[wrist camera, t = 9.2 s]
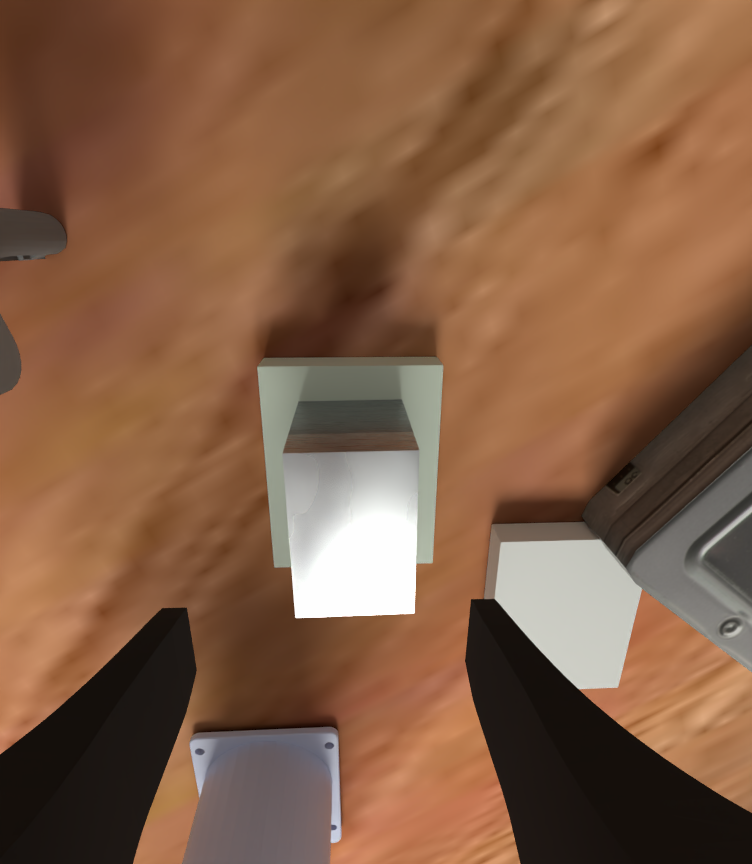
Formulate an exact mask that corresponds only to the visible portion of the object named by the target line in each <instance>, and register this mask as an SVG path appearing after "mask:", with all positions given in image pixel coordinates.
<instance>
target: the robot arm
mask: <svg viewBox="0 0 752 864" xmlns="http://www.w3.org/2000/svg"><path fill="white" fill-rule="evenodd" d="M465 662H466V667H467V672H468V677H469V683H470V687H471V692H472V697H473V701H474V705H475V708H476V711H477V714H478V717H479V720H480V724H481V727H482V730H483V733H484V736H485V739H486V742H487V745H488V748H489V751H490V755H491V758H492V761H493V764H494V767H495V770H496V773H497V776H498V779H499V782H500V785H501V789H502V792H503V795H504V798H505V802H506V805H507V809H508V812H509V816H510V820H511V824H512V829H513V833H514V837H515V842H516V846H517V850H518V854H519V859H520V863H521V864H752V813H750V812H749V811H747V810H745V809H744V808H742V807H740V806H738V805H737V804H735V803H733V802H731V801H730V800H728V799H726V798H724V797H723V796H721V795H719V794H718V793H716V792H715V791H713V790H712V789H710V788H708V787H707V786H705V785H704V784H702V783H701V782H699V781H698V780H696V779H694V778H693V777H691V776H690V775H688V774H687V773H685V772H684V771H682V770H681V769H679V768H678V767H676V766H675V765H673V764H672V763H670V762H669V761H667V760H666V759H665V758H663V757H662V756H660V755H659V754H658V753H656V752H655V751H654V750H652V749H651V748H649V747H648V746H647V745H645V744H644V743H643V742H641V741H640V740H639V739H637V738H636V737H635V736H633V735H632V734H631V733H629V732H628V731H627V730H626V729H624V728H623V727H622V726H620V725H619V724H618V723H617V722H616V721H614V720H613V719H612V718H611V717H610V716H608V715H607V714H606V713H605V712H604V711H602V710H601V709H600V708H599V707H598V706H596V705H595V704H594V703H593V702H592V701H591V700H590V699H588V698H587V697H586V696H585V695H584V694H583V693H582V692H581V691H580V690H579V689H578V688H577V687H576V686H575V685H574V684H573V683H571V682H570V681H569V680H568V679H567V678H566V677H565V676H564V675H563V674H562V673H561V672H560V671H559V670H558V669H557V668H556V667H555V666H554V665H553V664H552V662H551V661H550V660H549V659H548V658H547V657H546V656H545V655H544V654H543V653H542V652H541V651H540V650H539V649H538V648H537V647H536V645H535V644H534V643H533V642H532V641H531V640H530V639H529V638H528V637H527V635H526V634H525V633H524V632H523V631H522V630H521V629H520V627H519V626H518V625H517V624H516V623H515V622H514V621H513V619H512V618H511V617H510V616H509V615H508V613H507V612H506V611H505V610H504V609H503V608H502V606H501V605H500V604H499V603H498V602H497V601H496V600H495V599H471V607H470V617H469V627H468V637H467V648H466V658H465ZM196 671H197V669H196V663H195V656H194V650H193V644H192V637H191V631H190V625H189V618H188V612H187V608H162V609H161V610H160V611H159V612H158V613H157V614H156V615H155V616H154V617H153V618H152V619H151V620H150V621H149V622H148V623H147V624H146V625H145V626H144V627H143V628H142V629H141V630H140V631H139V632H138V633H137V634H136V635H135V636H134V637H133V638H132V639H131V640H130V641H129V642H128V643H127V644H126V645H125V646H124V647H123V648H122V649H121V650H120V651H119V652H118V653H117V654H116V655H115V656H114V657H113V658H112V659H111V660H110V661H109V662H108V663H107V664H106V665H105V666H104V667H103V668H102V669H101V670H100V671H98V672H97V673H96V674H95V675H94V676H93V677H92V678H91V679H90V680H89V681H88V682H87V683H86V684H85V685H84V686H82V687H81V688H80V689H79V690H78V691H77V692H76V693H75V694H74V695H72V696H71V697H70V698H69V699H68V700H67V701H66V702H65V703H64V704H63V705H61V706H60V707H59V708H58V709H57V710H56V711H55V712H53V713H52V714H51V715H50V716H49V717H47V718H46V719H45V720H44V721H43V722H41V723H40V724H39V725H38V726H36V727H35V728H34V729H33V730H31V731H30V732H29V733H28V734H26V735H25V736H24V737H22V738H21V739H20V740H19V741H17V742H16V743H15V744H14V745H12V746H11V747H10V748H8V749H7V750H6V751H4V752H3V753H2V754H0V864H133V861H134V857H135V854H136V850H137V847H138V843H139V840H140V836H141V833H142V830H143V827H144V825H145V822H146V819H147V816H148V813H149V810H150V807H151V805H152V802H153V799H154V797H155V794H156V792H157V789H158V786H159V784H160V781H161V778H162V776H163V773H164V770H165V768H166V765H167V763H168V760H169V757H170V755H171V752H172V749H173V747H174V744H175V741H176V739H177V736H178V733H179V731H180V728H181V725H182V723H183V720H184V717H185V714H186V711H187V707H188V704H189V700H190V696H191V692H192V688H193V684H194V679H195V675H196ZM190 750H191V756H192V761H193V766H194V772H195V777H196V782H197V788H198V793H199V802H198V806H197V810H196V813H195V817H194V821H193V824H192V828H191V832H190V836H189V839H188V843H187V847H186V851H185V854H184V858H183V862H182V864H330V848H331V843H335V842H338V841H339V840H340V839H341V803H340V773H339V742H338V731H337V730H336V729H335V728H333V727H313V728H290V729H268V730H246V731H224V732H202V733H196V734H194V735H193V736H192V737H191V740H190Z"/></svg>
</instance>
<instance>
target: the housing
mask: <svg viewBox="0 0 752 864" xmlns="http://www.w3.org/2000/svg"><path fill="white" fill-rule="evenodd" d="M282 456H283V469H284V482H285V494H286V507H287V519H288V532H289V545H290V557H291V570H292V582H293V595H294V608H295V618H311V617H336V616H361V615H385V614H410V613H414V612H415V579H416V546H417V513H418V480H419V448H418V445H417V442H416V439H415V436H414V433H413V430H412V427H411V424H410V421H409V418H408V415H407V412H406V409H405V407H404V404H403V401H402V399H394V400H343V401H298V405H297V408H296V411H295V414H294V417H293V421H292V424H291V427H290V430H289V433H288V437H287V440H286V443H285V446H284V450H283V453H282Z"/></svg>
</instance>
